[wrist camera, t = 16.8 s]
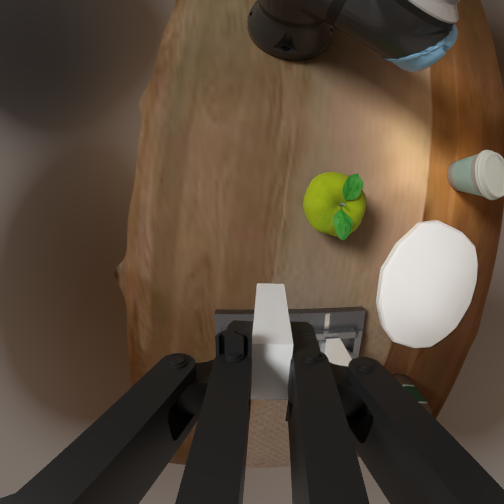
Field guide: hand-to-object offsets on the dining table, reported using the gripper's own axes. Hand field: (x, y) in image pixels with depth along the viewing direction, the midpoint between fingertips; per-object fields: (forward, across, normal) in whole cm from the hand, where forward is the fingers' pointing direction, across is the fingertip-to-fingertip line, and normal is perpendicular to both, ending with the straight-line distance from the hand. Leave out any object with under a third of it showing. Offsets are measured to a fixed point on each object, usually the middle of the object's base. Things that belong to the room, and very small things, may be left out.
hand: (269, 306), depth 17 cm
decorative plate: (+33, +32, -10) cm, 47 cm away
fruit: (+32, +10, +4) cm, 34 cm away
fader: (+29, +12, -20) cm, 37 cm away
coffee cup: (+34, +37, +12) cm, 52 cm away
